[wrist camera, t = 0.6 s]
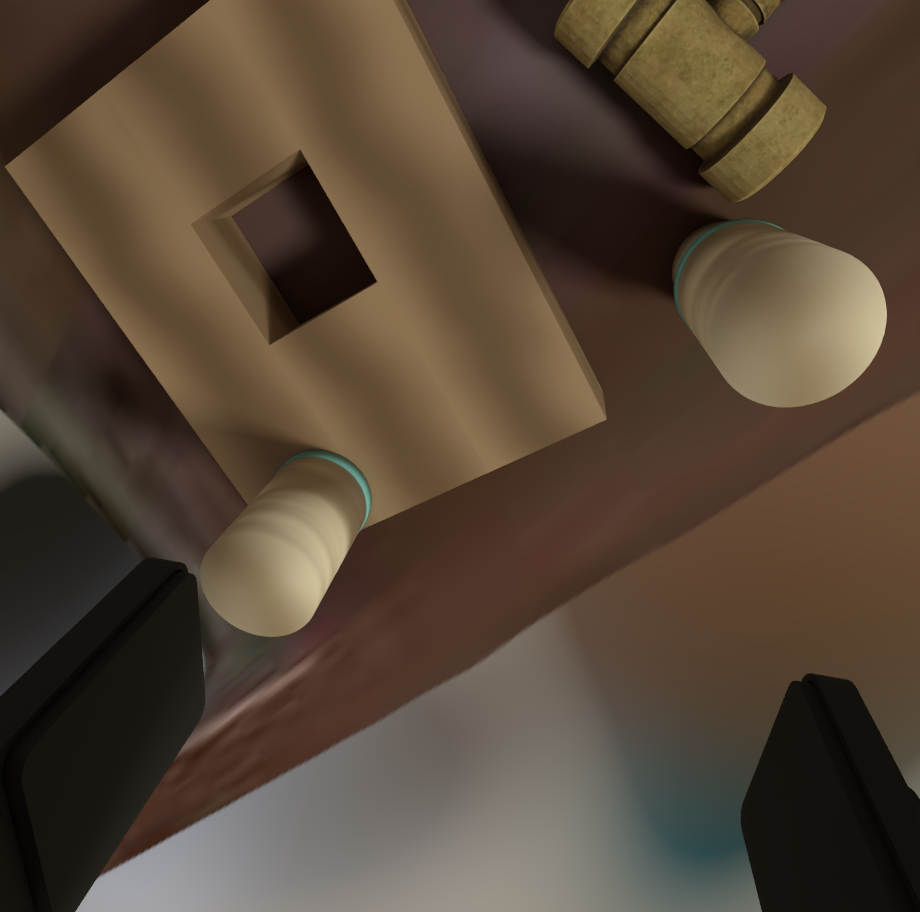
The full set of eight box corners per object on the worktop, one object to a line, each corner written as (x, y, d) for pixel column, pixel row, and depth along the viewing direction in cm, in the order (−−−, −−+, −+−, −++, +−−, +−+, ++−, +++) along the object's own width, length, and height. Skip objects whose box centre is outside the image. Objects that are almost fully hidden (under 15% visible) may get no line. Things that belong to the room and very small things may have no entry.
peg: (751, 188, 30) (856, 211, 19) (791, 290, 31) (910, 365, 20) (644, 245, 31) (684, 295, 20) (686, 339, 33) (745, 433, 22)
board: (369, -73, 28) (243, -214, 17) (602, 390, 34) (618, 502, 23) (65, 164, 34) (-176, 171, 23) (314, 524, 40) (219, 665, 29)
